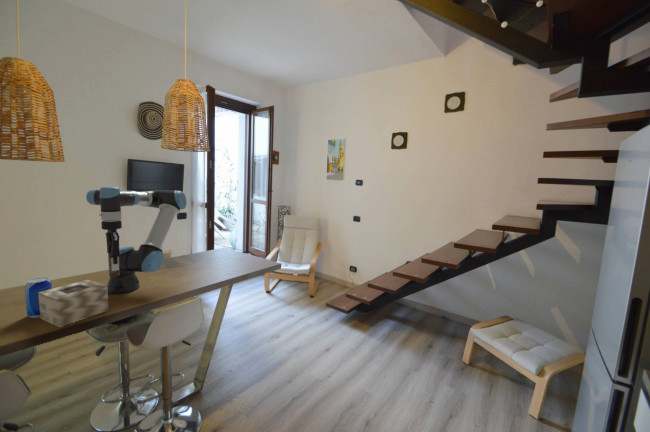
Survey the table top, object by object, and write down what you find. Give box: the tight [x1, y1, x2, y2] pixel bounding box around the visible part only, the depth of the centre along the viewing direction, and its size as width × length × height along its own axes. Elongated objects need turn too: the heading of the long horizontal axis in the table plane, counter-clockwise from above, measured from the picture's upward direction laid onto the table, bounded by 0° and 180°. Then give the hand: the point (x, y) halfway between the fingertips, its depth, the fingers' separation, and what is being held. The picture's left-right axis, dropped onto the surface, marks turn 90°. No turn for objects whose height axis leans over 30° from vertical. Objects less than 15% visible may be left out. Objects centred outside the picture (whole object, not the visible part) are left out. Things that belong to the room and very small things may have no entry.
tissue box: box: [38, 279, 110, 328], centre depth 127 cm, size 18×16×12 cm
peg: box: [107, 253, 120, 278], centre depth 133 cm, size 4×4×11 cm
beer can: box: [23, 277, 53, 319], centre depth 125 cm, size 8×8×16 cm
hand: (114, 269), depth 134 cm, fingers closed on peg, 3 cm apart
